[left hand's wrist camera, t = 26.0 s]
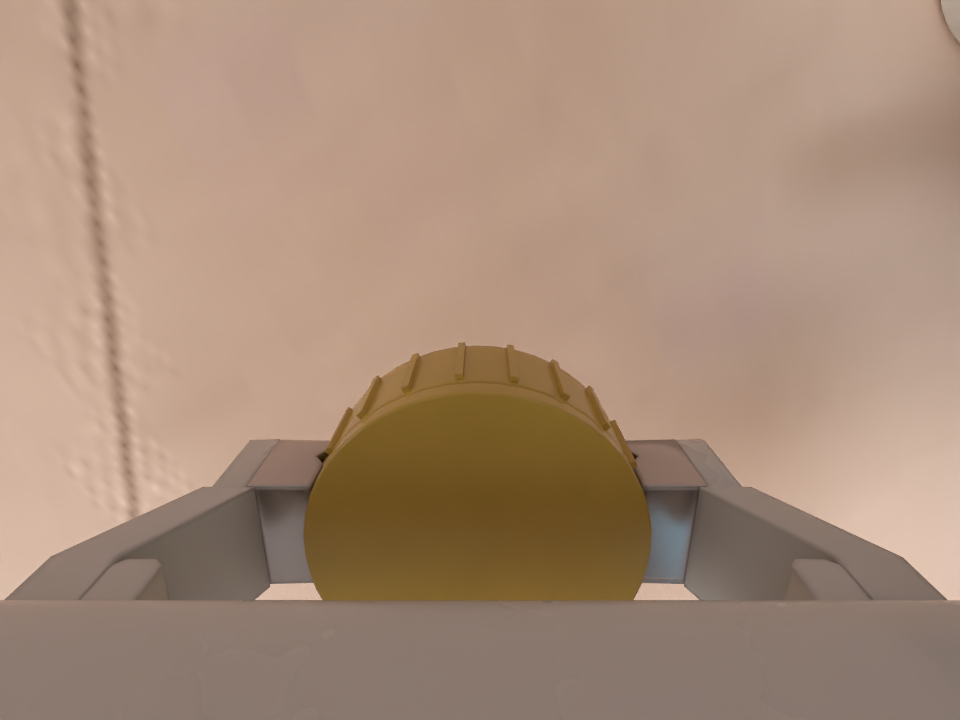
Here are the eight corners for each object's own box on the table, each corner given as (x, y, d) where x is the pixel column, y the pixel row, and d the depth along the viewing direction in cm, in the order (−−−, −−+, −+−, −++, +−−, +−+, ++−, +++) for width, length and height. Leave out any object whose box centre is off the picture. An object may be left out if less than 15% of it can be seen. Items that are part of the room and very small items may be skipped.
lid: (411, 282, 9) (393, 316, 7) (684, 426, 10) (732, 490, 8) (287, 526, 10) (245, 606, 8) (530, 631, 11) (540, 724, 9)
